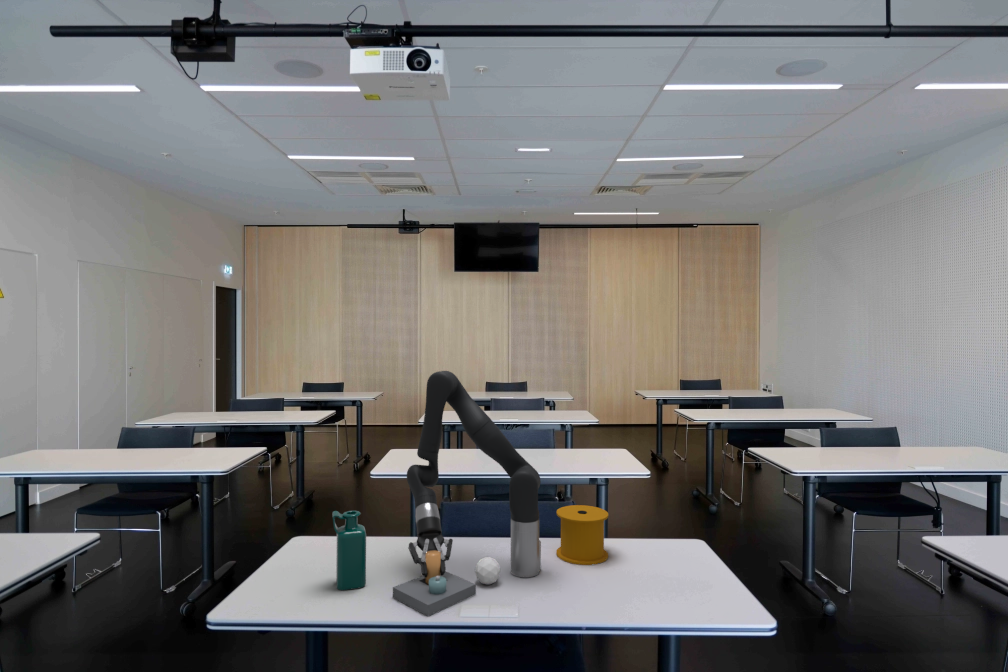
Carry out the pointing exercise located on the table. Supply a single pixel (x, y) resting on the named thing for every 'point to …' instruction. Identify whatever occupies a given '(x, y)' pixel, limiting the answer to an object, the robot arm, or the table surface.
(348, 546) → the pitcher
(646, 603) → the table surface
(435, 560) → the orange capsule
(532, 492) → the robot arm
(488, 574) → the ball
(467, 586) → the block
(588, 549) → the spool
